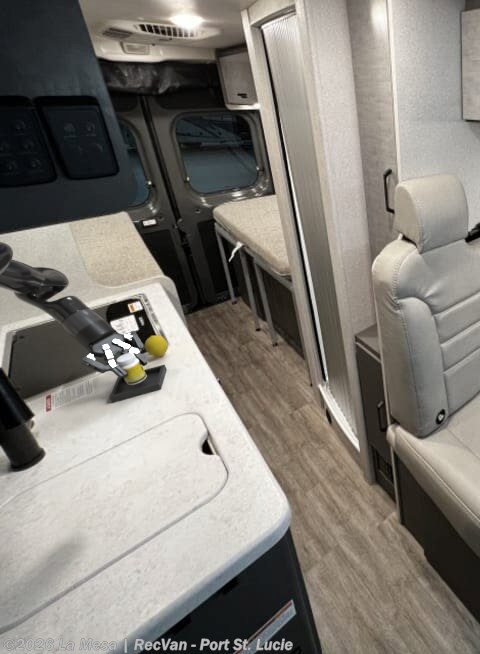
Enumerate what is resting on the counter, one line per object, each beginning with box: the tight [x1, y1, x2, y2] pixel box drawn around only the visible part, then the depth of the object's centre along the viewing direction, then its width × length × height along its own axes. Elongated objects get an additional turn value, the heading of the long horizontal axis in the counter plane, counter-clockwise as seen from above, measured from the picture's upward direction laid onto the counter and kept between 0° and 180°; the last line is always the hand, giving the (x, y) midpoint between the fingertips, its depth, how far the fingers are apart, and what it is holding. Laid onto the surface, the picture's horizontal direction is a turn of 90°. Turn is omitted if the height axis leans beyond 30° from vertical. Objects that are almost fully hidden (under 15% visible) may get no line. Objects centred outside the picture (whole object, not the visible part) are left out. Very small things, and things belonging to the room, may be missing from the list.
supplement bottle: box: [116, 353, 147, 385], centre depth 110 cm, size 5×5×8 cm
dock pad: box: [108, 364, 168, 404], centre depth 113 cm, size 12×10×2 cm
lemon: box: [144, 335, 169, 357], centre depth 123 cm, size 6×6×8 cm
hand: (136, 370), depth 110 cm, fingers closed on supplement bottle, 4 cm apart
